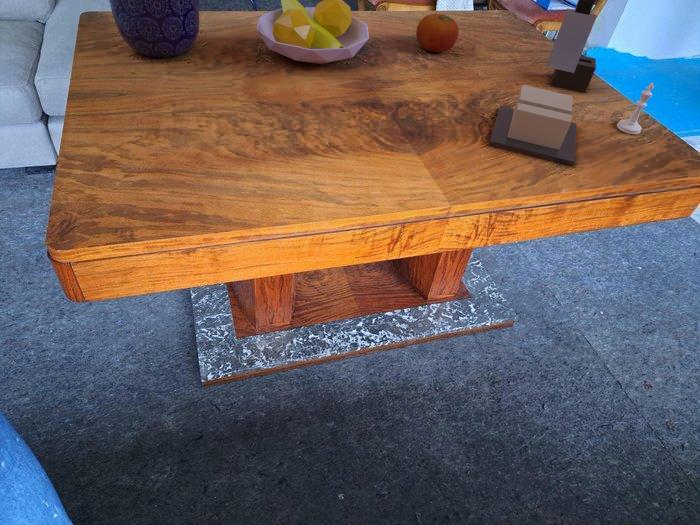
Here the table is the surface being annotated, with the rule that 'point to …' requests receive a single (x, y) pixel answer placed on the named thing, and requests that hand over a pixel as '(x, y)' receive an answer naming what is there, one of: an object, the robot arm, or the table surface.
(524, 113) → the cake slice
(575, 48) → the knife
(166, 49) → the planter
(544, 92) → the cake
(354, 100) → the table surface
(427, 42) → the fruit
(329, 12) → the fruit bowl
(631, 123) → the chess piece
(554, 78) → the knife block
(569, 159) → the cake board
